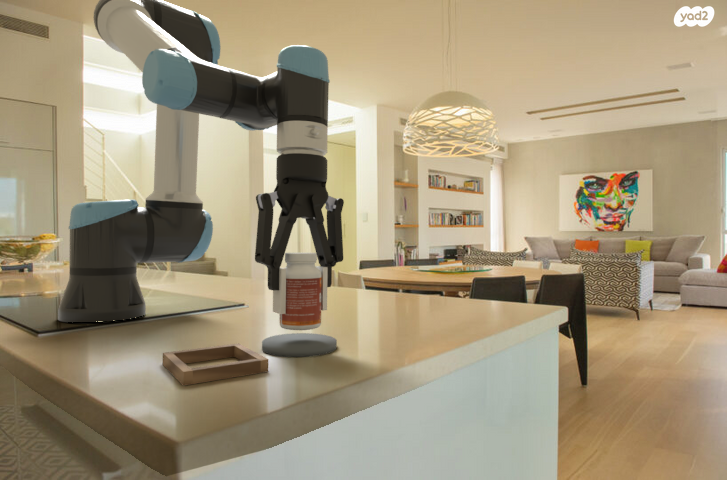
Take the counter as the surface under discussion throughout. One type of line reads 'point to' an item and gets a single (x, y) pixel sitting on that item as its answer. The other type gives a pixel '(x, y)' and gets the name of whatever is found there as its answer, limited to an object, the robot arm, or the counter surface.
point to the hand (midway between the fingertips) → (300, 310)
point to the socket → (187, 376)
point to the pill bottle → (302, 292)
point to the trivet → (299, 345)
